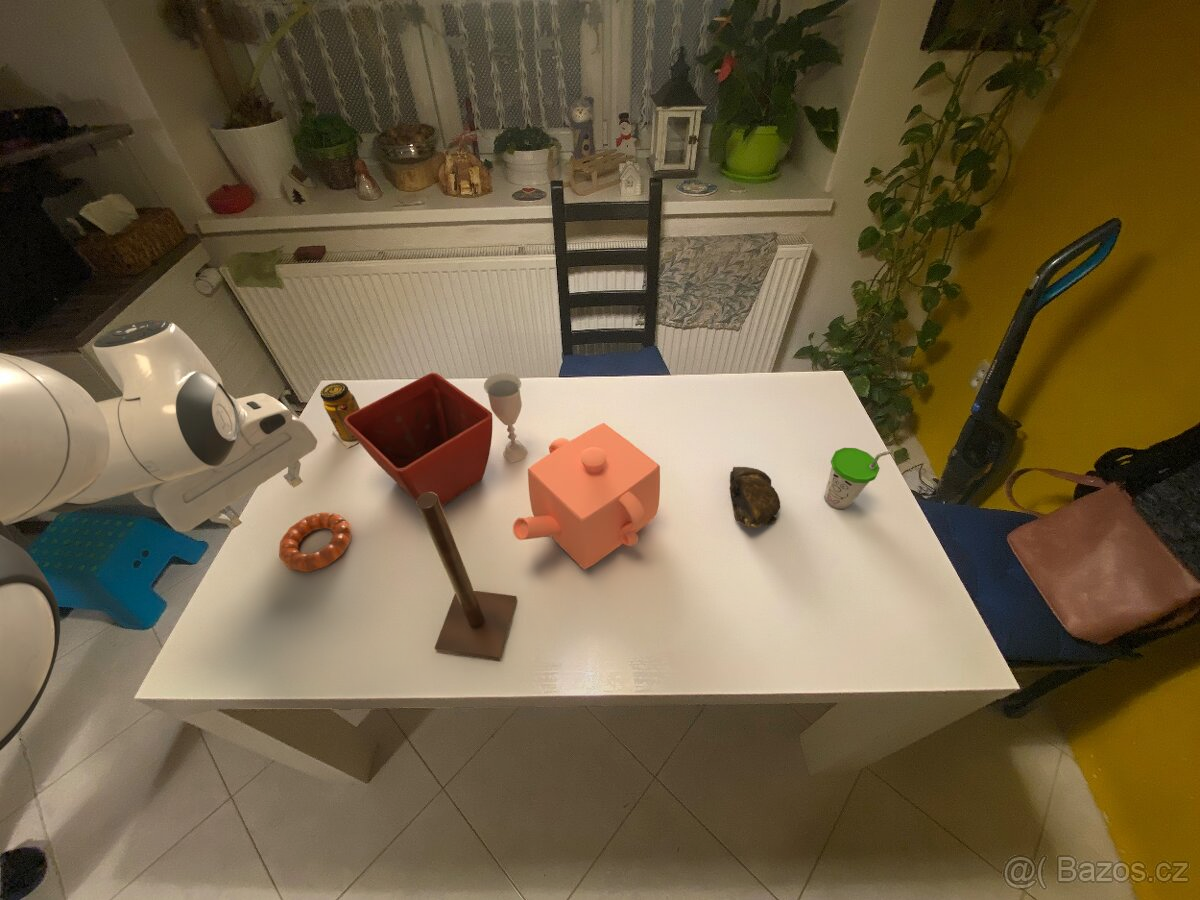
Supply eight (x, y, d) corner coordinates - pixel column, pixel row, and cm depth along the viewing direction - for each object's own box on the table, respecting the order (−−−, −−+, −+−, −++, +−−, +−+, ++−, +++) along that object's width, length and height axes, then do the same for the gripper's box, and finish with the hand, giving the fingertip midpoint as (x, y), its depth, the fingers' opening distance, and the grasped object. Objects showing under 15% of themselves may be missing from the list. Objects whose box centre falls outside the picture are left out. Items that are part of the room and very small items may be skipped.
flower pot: (452, 432, 111) (433, 369, 99) (508, 477, 101) (494, 414, 89) (372, 480, 101) (341, 417, 89) (426, 535, 92) (398, 473, 80)
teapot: (565, 620, 80) (557, 559, 67) (488, 532, 92) (468, 466, 79) (673, 533, 92) (684, 466, 79) (592, 464, 103) (590, 397, 91)
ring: (332, 577, 86) (326, 569, 84) (270, 569, 87) (262, 560, 85) (364, 522, 94) (359, 513, 92) (306, 515, 95) (300, 506, 93)
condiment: (332, 432, 111) (309, 389, 103) (368, 413, 115) (349, 371, 107) (347, 449, 108) (325, 406, 99) (384, 429, 112) (365, 386, 103)
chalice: (537, 457, 105) (527, 389, 92) (507, 470, 103) (492, 402, 90) (523, 436, 110) (511, 368, 97) (493, 448, 107) (477, 380, 94)
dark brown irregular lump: (718, 469, 102) (731, 445, 97) (759, 476, 103) (775, 453, 98) (730, 537, 90) (747, 513, 85) (777, 544, 91) (796, 521, 86)
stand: (500, 661, 76) (454, 542, 53) (436, 652, 77) (365, 531, 54) (517, 600, 83) (483, 471, 60) (458, 592, 84) (403, 463, 61)
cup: (806, 497, 97) (831, 441, 86) (831, 478, 100) (858, 422, 89) (842, 523, 93) (873, 468, 82) (867, 502, 96) (899, 447, 85)
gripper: (135, 499, 58) (205, 563, 68) (300, 403, 69) (338, 470, 79) (113, 475, 61) (183, 540, 71) (275, 387, 72) (315, 454, 82)
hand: (266, 503), depth 75 cm, fingers open, 8 cm apart
